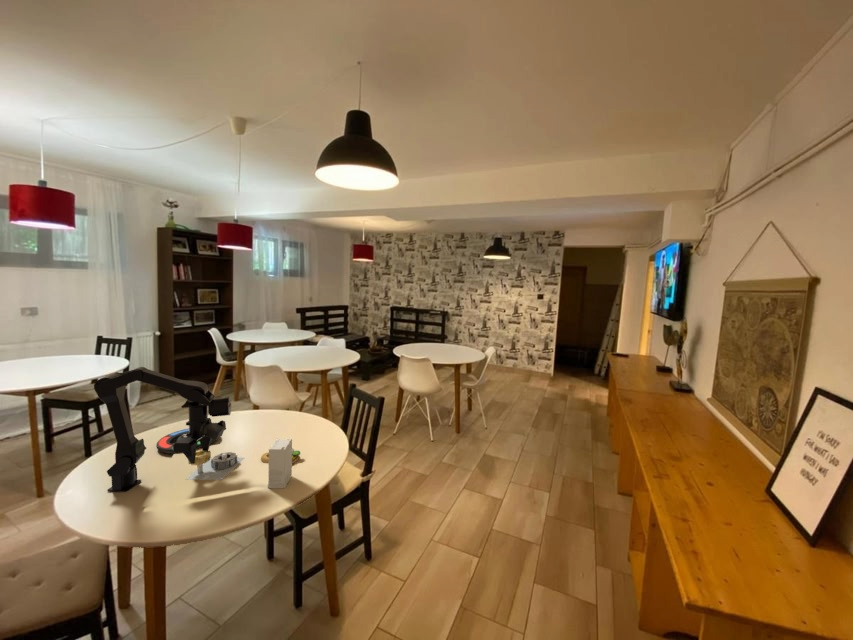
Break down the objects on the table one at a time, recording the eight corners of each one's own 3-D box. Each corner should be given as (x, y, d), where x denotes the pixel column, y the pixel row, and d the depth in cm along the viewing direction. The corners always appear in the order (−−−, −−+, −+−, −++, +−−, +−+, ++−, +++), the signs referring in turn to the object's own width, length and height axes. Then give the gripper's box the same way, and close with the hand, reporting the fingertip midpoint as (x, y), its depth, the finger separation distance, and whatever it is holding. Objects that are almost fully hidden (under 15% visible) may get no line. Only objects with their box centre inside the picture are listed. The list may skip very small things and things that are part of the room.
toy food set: (256, 463, 135) (256, 455, 135) (284, 450, 147) (284, 442, 147) (279, 472, 129) (279, 464, 129) (306, 457, 141) (306, 450, 140)
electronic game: (231, 434, 160) (230, 425, 160) (193, 458, 137) (192, 447, 137) (186, 431, 162) (186, 421, 162) (141, 454, 140) (141, 443, 139)
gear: (235, 467, 129) (235, 460, 128) (209, 472, 125) (209, 464, 125) (238, 457, 137) (238, 450, 136) (213, 461, 133) (213, 453, 133)
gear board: (221, 483, 121) (221, 469, 120) (185, 482, 120) (184, 468, 120) (244, 460, 137) (244, 448, 136) (212, 459, 136) (212, 447, 136)
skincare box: (276, 476, 126) (275, 437, 125) (292, 475, 127) (292, 437, 125) (267, 489, 118) (267, 448, 116) (285, 489, 118) (285, 448, 117)
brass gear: (203, 466, 121) (202, 458, 121) (183, 465, 121) (183, 457, 121) (214, 456, 128) (214, 449, 128) (196, 456, 128) (196, 448, 127)
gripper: (204, 428, 114) (205, 472, 115) (234, 409, 132) (235, 447, 134) (170, 427, 114) (172, 472, 115) (205, 408, 132) (206, 446, 134)
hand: (199, 458), depth 124 cm, fingers closed on brass gear, 7 cm apart
